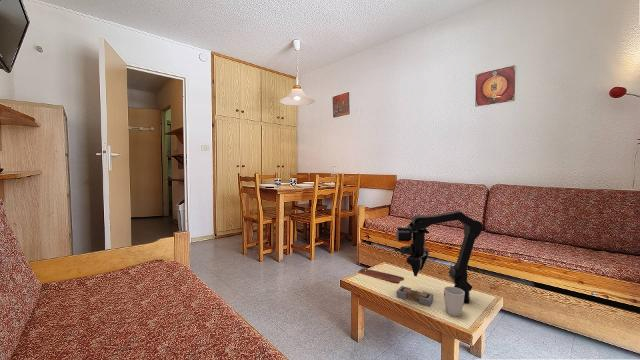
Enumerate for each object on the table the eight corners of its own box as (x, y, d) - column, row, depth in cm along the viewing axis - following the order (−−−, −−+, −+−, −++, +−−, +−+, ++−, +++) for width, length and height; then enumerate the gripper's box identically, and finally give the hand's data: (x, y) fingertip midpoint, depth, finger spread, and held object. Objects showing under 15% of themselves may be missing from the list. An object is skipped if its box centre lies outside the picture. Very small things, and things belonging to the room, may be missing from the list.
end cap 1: (396, 296, 130) (396, 290, 130) (401, 291, 136) (401, 285, 136) (406, 299, 128) (406, 293, 128) (410, 294, 134) (410, 288, 134)
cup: (448, 306, 122) (449, 284, 122) (467, 314, 116) (468, 291, 115) (439, 311, 117) (440, 289, 117) (458, 320, 111) (459, 296, 110)
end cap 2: (433, 300, 127) (433, 294, 127) (429, 306, 121) (429, 300, 121) (423, 297, 130) (423, 291, 130) (418, 303, 124) (419, 297, 124)
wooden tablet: (405, 279, 153) (405, 276, 153) (398, 285, 145) (398, 282, 145) (363, 268, 169) (363, 266, 169) (355, 273, 161) (355, 270, 161)
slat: (427, 301, 127) (427, 293, 127) (426, 304, 124) (426, 296, 124) (404, 294, 133) (404, 288, 133) (402, 297, 130) (402, 290, 130)
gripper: (407, 235, 142) (407, 264, 143) (395, 243, 127) (395, 275, 127) (429, 238, 136) (429, 268, 136) (420, 247, 120) (419, 281, 121)
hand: (418, 273), depth 130 cm, fingers open, 9 cm apart
